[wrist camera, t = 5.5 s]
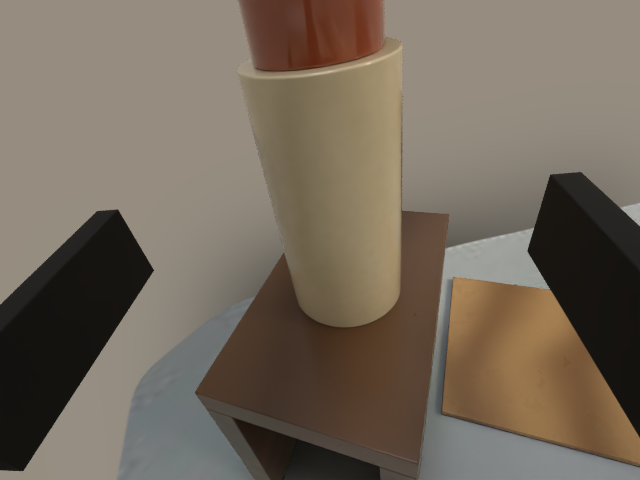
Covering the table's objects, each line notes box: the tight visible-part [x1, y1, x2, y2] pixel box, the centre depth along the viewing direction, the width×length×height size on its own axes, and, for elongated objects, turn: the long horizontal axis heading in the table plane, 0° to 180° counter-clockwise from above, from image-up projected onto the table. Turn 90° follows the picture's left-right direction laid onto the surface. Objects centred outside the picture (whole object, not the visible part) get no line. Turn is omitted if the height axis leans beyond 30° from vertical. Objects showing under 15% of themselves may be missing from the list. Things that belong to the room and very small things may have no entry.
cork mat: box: [441, 277, 640, 466], centre depth 27 cm, size 20×14×1 cm
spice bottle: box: [237, 0, 403, 328], centre depth 15 cm, size 6×6×14 cm
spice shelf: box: [195, 211, 449, 480], centre depth 24 cm, size 10×16×12 cm, turn 161°
